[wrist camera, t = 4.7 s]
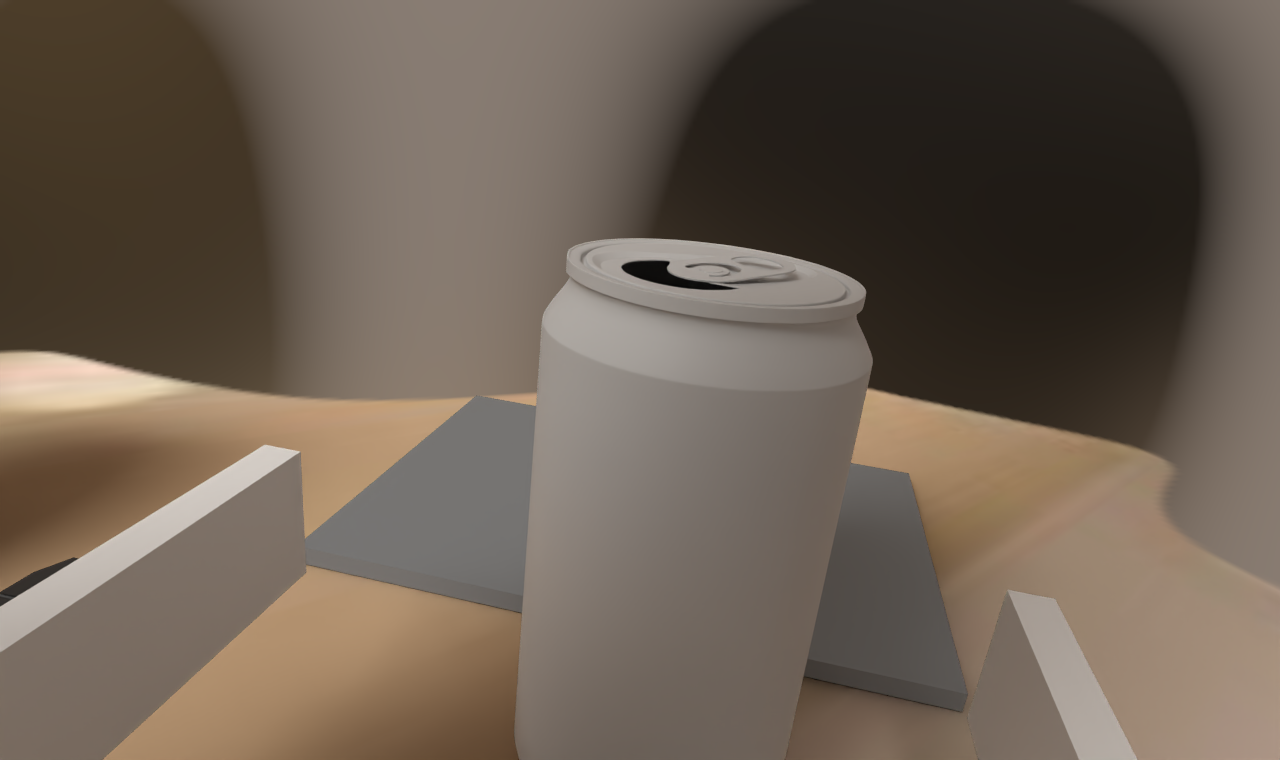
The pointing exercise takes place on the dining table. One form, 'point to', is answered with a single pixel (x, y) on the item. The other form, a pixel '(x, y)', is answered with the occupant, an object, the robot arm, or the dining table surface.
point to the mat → (497, 541)
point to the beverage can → (683, 498)
